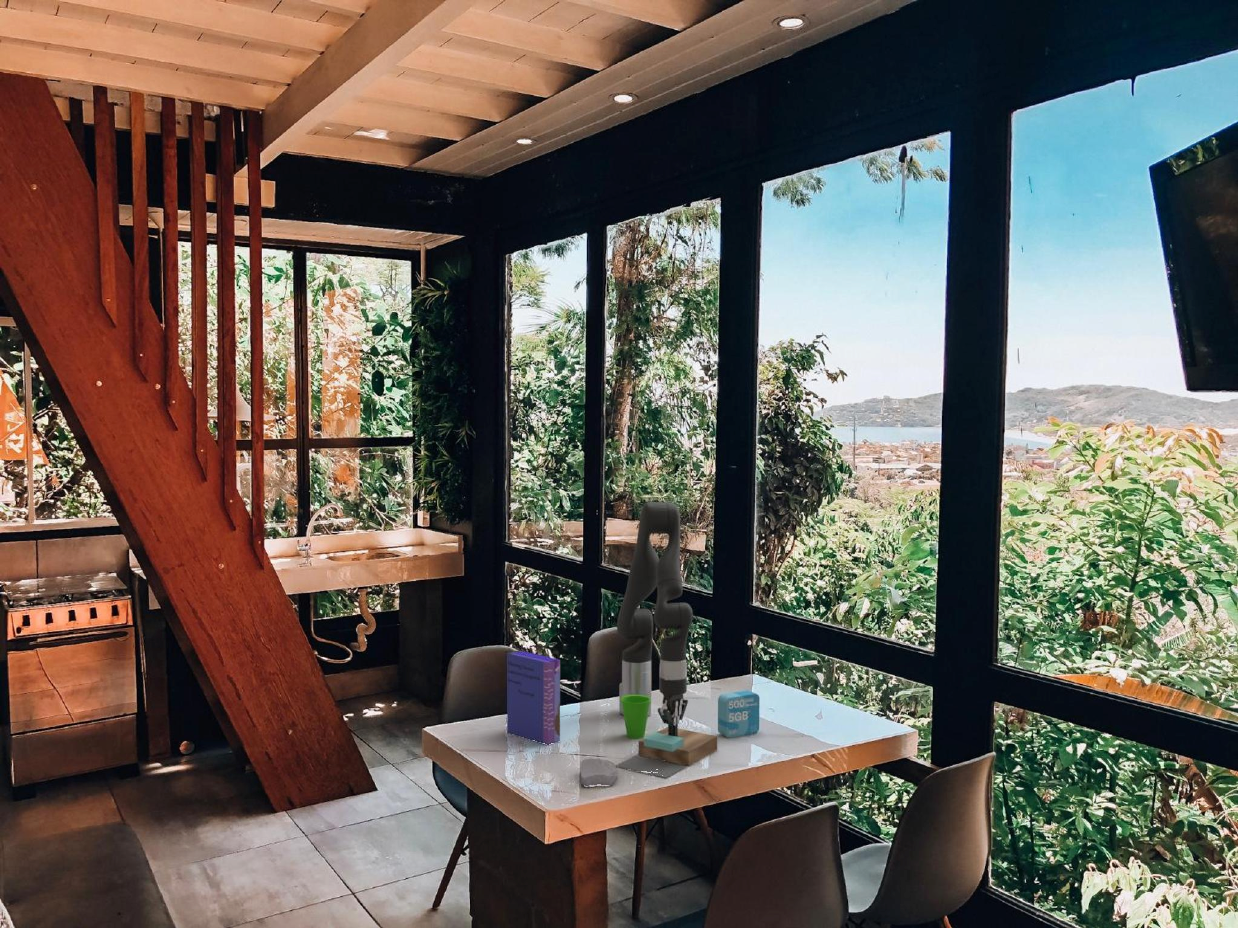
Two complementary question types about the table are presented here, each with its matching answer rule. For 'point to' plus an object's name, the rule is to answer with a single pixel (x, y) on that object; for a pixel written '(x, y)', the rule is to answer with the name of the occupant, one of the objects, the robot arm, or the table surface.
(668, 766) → the mat
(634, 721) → the cup
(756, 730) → the data package
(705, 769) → the table surface
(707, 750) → the wooden block
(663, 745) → the teal flat block
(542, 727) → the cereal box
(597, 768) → the stone block
